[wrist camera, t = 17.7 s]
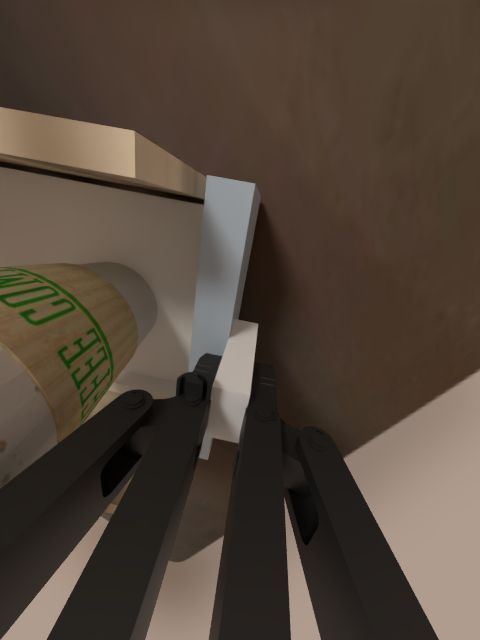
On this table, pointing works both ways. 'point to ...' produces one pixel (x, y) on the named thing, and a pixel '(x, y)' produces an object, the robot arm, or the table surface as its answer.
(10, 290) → the coffee cup
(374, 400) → the table surface
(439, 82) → the table surface
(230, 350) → the robot arm
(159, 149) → the light wooden box
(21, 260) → the tray
